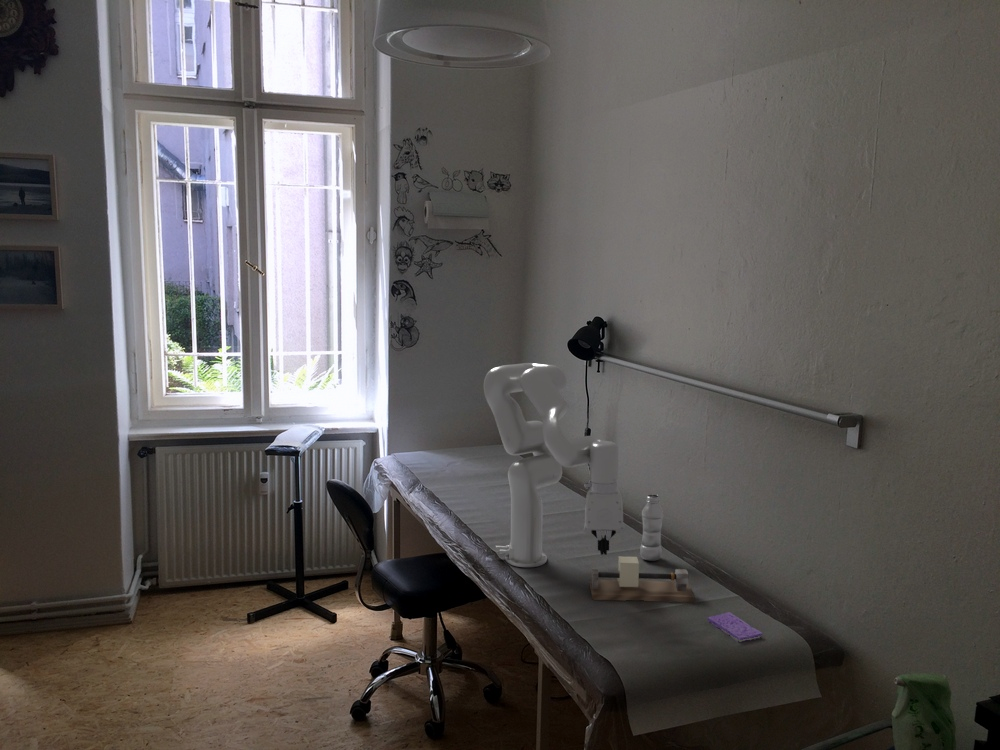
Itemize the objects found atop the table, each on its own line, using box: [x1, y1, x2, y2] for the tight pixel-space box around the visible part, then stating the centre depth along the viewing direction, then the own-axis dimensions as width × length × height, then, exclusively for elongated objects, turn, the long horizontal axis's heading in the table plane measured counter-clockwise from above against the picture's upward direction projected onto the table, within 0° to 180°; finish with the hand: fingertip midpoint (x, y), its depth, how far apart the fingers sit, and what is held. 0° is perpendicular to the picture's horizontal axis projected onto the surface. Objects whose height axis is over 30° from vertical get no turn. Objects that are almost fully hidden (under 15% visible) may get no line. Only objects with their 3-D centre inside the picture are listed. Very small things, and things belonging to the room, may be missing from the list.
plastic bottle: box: [639, 494, 664, 562], centre depth 241 cm, size 6×7×20 cm
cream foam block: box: [617, 556, 640, 587], centre depth 217 cm, size 5×5×7 cm
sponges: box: [707, 611, 763, 640], centre depth 197 cm, size 7×13×2 cm, turn 22°
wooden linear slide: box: [589, 568, 695, 603], centre depth 217 cm, size 27×10×6 cm, turn 88°
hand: (603, 552), depth 216 cm, fingers closed
